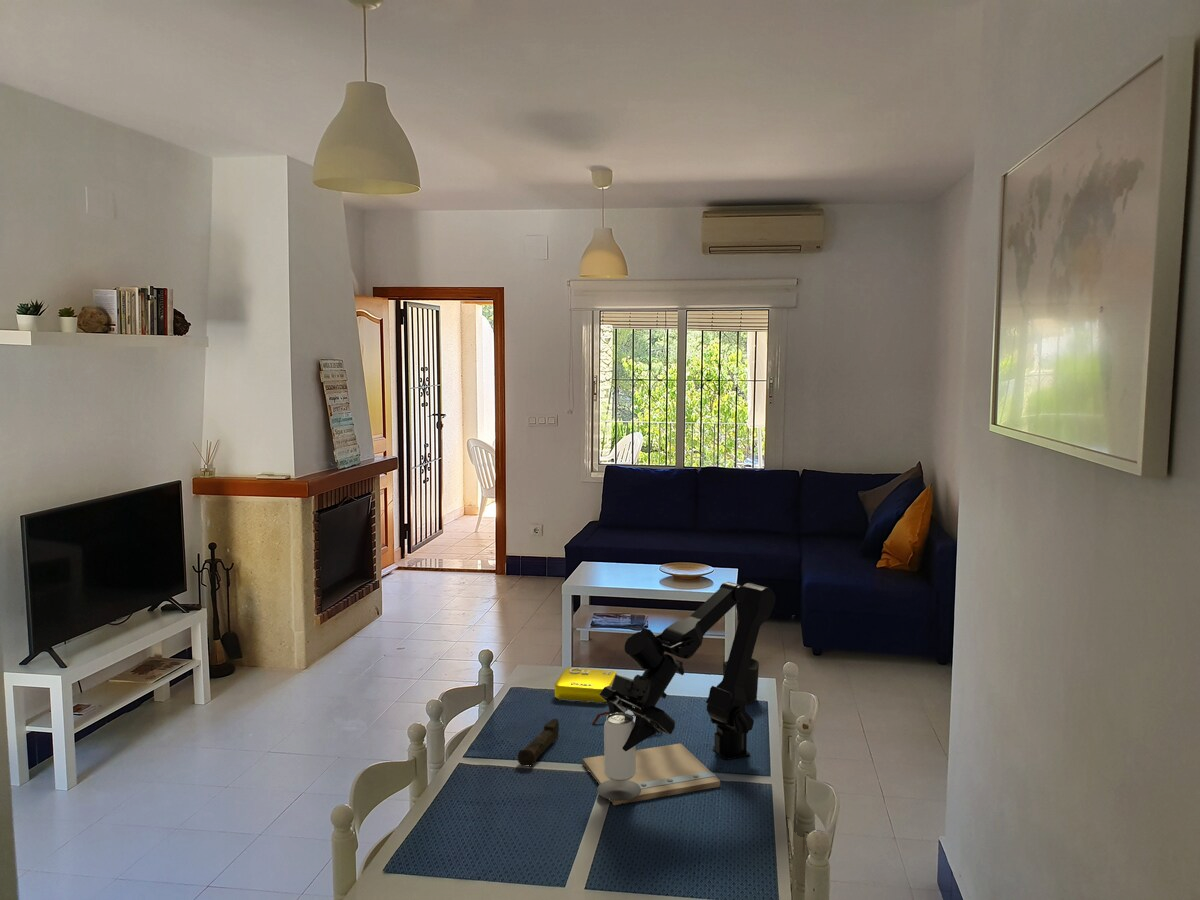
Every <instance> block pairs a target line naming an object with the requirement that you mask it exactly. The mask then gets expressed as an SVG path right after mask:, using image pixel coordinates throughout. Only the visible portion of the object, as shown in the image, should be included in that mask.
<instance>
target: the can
mask: <svg viewBox="0 0 1200 900" xmlns="http://www.w3.org/2000/svg"><path fill="white" fill-rule="evenodd" d="M603 725H604V726H603V744H604V745H603V753H604V754H603V755H604V768H605V775H606V776H607V777H608V778H610V779H612V780H617V781H623V780H628V779H630V778H632V777H633V776H634V775H635V773H636V750H637V747H636V746H637V745H635V746H634V747H632V748H631V749H629V750H628V751H624V750H623V749H622V748H623V746H624V745H625V743H626V741H627V740H628V738H629V736H630V733H631V731H632V729H633V727H634V726H635V721H634V716H633V715H631V714H629V713H626V712H625V713H613V714H610V715H609V714H607V715H606V717H605V722H604V724H603Z"/></svg>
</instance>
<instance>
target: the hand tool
mask: <svg viewBox="0 0 1200 900" xmlns="http://www.w3.org/2000/svg"><path fill="white" fill-rule="evenodd" d="M559 730H560V725H559V720H558V719H557V718H552V719H551V720H549V721H548V722H546V723H545V724H544V725H543V730H542V731H541V732H540V733H539V734H538V735H537V736H536V737H535V738H534V739H532V741H531V742H530V743H529V744H528V745H526V746H525V747H524V748H523V749H520V750H519V752H518V754H517V759H518V760H517V762H518V764H519V765H520V764H521V765H520V766H523V765H529V766H528V767H533V766H534V764H535V763H536V760H537V759H538V758H539V757H540V756H541V754H542V753H544V752H545V750H546V749H548V747H549V746H550V745H551V743H553V742H555V743H556V741H557V740H556V739H558V736H559V734H558V733H559ZM555 740H556V741H555ZM553 744H554V743H553ZM530 765H531V766H530ZM532 765H533V766H532Z"/></svg>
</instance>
